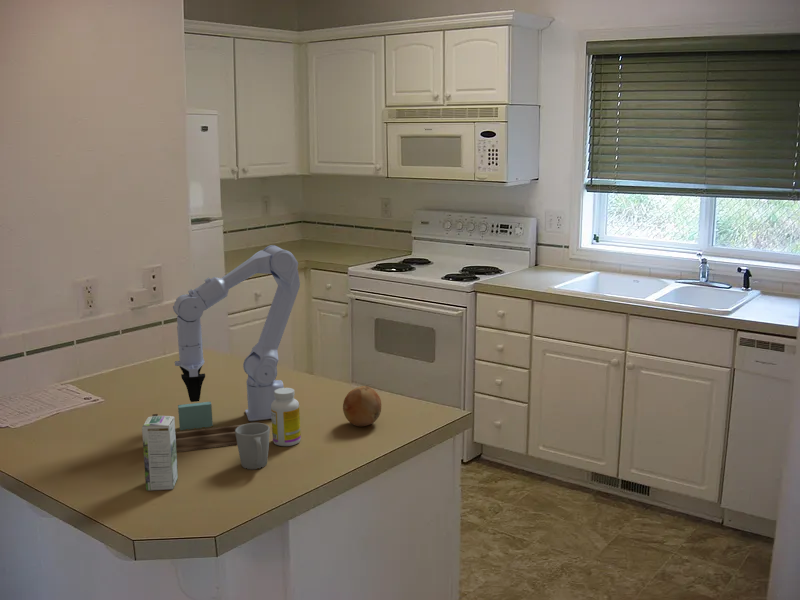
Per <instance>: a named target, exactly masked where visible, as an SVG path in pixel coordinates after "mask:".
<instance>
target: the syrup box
mask: <svg viewBox="0 0 800 600" xmlns="http://www.w3.org/2000/svg"><path fill="white" fill-rule="evenodd" d="M175 422H176V421H175V416H173V415H172V416H171V415H158V416H152V415H151V416H148V417H147V418H146V420H145V422H144V424H143V425H142V427H141V431H142V432H141V436H142V449H143V462H144V463H143V465H144V466H143V467H144V479H145V481H144V482H145V490H146V491H163V490H165V491H166V490H174V489H175V485H176V484H177V482H178V478H179V474H178V471H179V470H178V454H177V453H178V452H176V435H175V432H176V423H175Z"/></svg>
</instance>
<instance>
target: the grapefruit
mask: <svg viewBox="0 0 800 600" xmlns="http://www.w3.org/2000/svg"><path fill="white" fill-rule="evenodd" d="M342 403H343V404H342V412H343V414H344V417H345V418H346V420H347V421H348V422H349V423H350V424H352V425H353V426H356V427H360V428H361V427H366V426H370V425H372V424H374V423H375V422H376V421H377V420H378V419H379V417H380V415H381V412H382V399H381V397H380V395H379V394H378V392H377V391H376V390H375V389H374V388H372V387H370V386H369V385H360V386H357V387H355V388H353V389H352V390H350V391H349V392H348V393H347V394H346V395H345V398H344V399H343V402H342Z"/></svg>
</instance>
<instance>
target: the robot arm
mask: <svg viewBox="0 0 800 600" xmlns="http://www.w3.org/2000/svg"><path fill="white" fill-rule="evenodd" d="M298 267H299V262H298V260H297V259H296V257H295V255H294V254H293V253H292V252H291V251H289V250H286V249H283V248H281V247H280V246H277V245H274V244H271V245H268V246H266V247H264V249H261V250H259V251H257V252H256V253H254V254H253V255H252V256H251V257H249V258H248V259H247V260H245V261H244V262H242V263H240V264H239V265H238V266H236V267H235V268H233V269H232V270H230V271H229V272H228V273H226V274H225V275H224V276H222V277H217V276H213V277H212V278H210V277H207V278H205V279H204V282H203V283H202V284H200V285H199V286H198V287H195V288H194V289H189V290H188V294H182V295H181V294H180V295H179V296H178V297H177V298H176V299H175V301H174V302H173V303H174V305H173V306H172V309H173V312H174V313H175V314H176V324H177V327H176V330H177V344H178V358H179V360H176V361H174V366H175V367H179V368H180V370H181V372H182V373H181V374H180V376H181V380H182V381H183V383H184V384H185V386H186V391H187V394H188V398H189V401H190V402H191V403H195V402H196V403H198V402H200V399H201V393H202V386H203V384H204V383H203V382H204V380H205V378H206V373H201V370H202V368H203V365H204V364H205V358H204V349H203V348H204V347H203V335H202V334H203V333H202V331H203V330H202V323H201V318H202V316H203V314H204V311H207V310H208V309H210V308H211V307H213V306H214V305H216V304H217V303H219V302H220V301H222V300H224V299H225V298H227V297H228V294H229V290H230V289H232V288H233V287H235V286H237V285H239V284H241V283H243V282H244V281H246V280H247V279H249V278H250V277H253V276H254V275H257V274H271V275H272V277H273V279H274V280H275V282H276V284H277V288H276V290H275V293H274V296H273V299H272V302H271V304H270V307H269V309H268V310H269V311H268V313H267V317H266V319H265V320H264V321H265V322H264V324H263V328H262V329H261V330H262V331H261V334H260V336H259V339H258V341H257V343H256V344H255V345H254V346H253V347H252V348H251V351H250V353H249V354H248V355H247V356H246V358H245V359H244V361H243V365H242V368H243V370H244V373H245V374H246V375H247V379H246V394H247V395H246V396H247V409H245V410H244V412H245V414H246V417H247V420H248V422H256V421H264V420H272V417H271V404H272V402H273V401H274V400H276V398H275V396H274V391H275V390H276V389H279V388H285V387H284V383H283V380H281V379H276V378H277V376H278V364H279V353H278V350H279V347H280V345H281V344H280V343H281V341H282V339H283V336H284V332H285V330H286V327H287V323H288V320H289V318H290V315H291V313H292V310H293V307H294V304H295V301H296V298H297V295H298V294H299V290H300V286H301V281H300V277H299V275H300V274H299V269H298Z"/></svg>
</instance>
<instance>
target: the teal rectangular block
mask: <svg viewBox="0 0 800 600" xmlns="http://www.w3.org/2000/svg"><path fill="white" fill-rule="evenodd" d="M212 410H213V407H212V402H211V401H204V402H196V403H195V402H192V403H187V404H186V403H184V404H178V405H177V412H178V423H179V425H178V426H179V431H187V430H186V429H188V430H195V429H194V428H196V429H203V428H202V427H205V428H212V427H211V426H213V425H214V424H213V411H212ZM213 427H214V426H213Z"/></svg>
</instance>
